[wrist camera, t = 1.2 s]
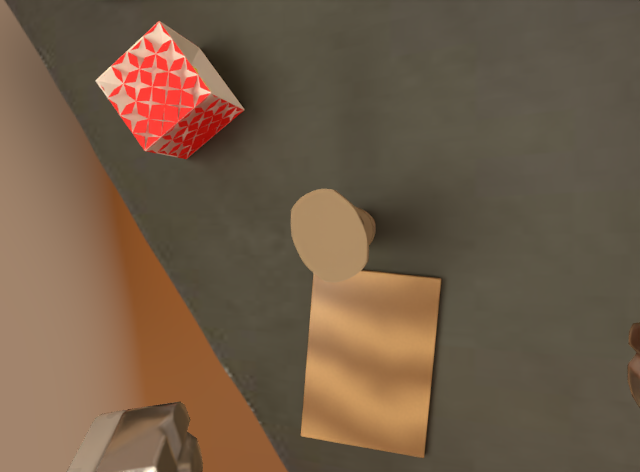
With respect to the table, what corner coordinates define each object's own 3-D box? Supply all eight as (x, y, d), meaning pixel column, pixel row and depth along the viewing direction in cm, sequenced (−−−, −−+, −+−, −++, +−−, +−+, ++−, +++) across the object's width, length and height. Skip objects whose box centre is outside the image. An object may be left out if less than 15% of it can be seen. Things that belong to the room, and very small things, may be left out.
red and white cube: (244, 109, 52) (211, 93, 44) (186, 159, 54) (145, 151, 46) (199, 47, 53) (158, 19, 45) (143, 97, 54) (94, 79, 47)
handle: (351, 268, 51) (317, 293, 36) (323, 208, 51) (277, 208, 36) (397, 247, 50) (380, 264, 35) (368, 186, 50) (339, 177, 35)
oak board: (315, 264, 52) (313, 265, 51) (441, 278, 49) (441, 279, 48) (302, 433, 53) (300, 436, 52) (424, 454, 50) (424, 458, 49)
